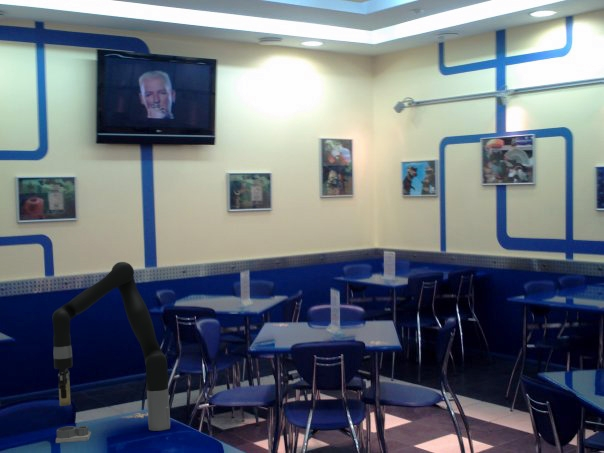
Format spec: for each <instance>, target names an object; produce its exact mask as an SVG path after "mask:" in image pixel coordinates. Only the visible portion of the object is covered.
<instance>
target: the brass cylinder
mask: <svg viewBox="0 0 604 453" xmlns="http://www.w3.org/2000/svg"><path fill="white" fill-rule="evenodd" d="M70 385H71V384H70V379H69V380H68V383H67V384H66V387H67V388H66V392H67V398H64V399H62V398H61V390H60V389H59V388H58V398H59V406H60V407H64V406H66V407H67V406H71V404H72V403H71V402H72V401H71V386H70ZM62 386H64V384H62Z"/></svg>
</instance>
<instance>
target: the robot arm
mask: <svg viewBox="0 0 604 453" xmlns="http://www.w3.org/2000/svg"><path fill="white" fill-rule="evenodd" d="M134 273H135V270H134V267H133V266H132V264H130V263H128V262H125V261H120V262H116V263H115V264H114V265H113V266H112V269H111V270H110V271H109V272H108V273H107V274H106V275H105V276H104V277H103V278H102V279H100V280H99V281H98V282H96V283H94V284H92V285H91V286H89V287H87V288H86V289H84V290H83V291H82V292H80V293H79V294H78V295H75V297H74V298H72V299H71V300H70V301H69V302H66V303H65V304H63V305H62V306H60V307H59V308H57V309H56V310H55V311H54V312H53V313H52V317H51V318H52V328H53V350H52V352H53V368H54V369H55V370H59V372H58V374H57V380H58V390H59V389H60V390H61V398H62V399H64V398H67V392H66V388H67V387H66V384H67V383H68V380H69V381H70V370H69V369H70V368H72V367H73V364H74V363H73V349H72V340H71V339H72V336H71V320H72V319H73V318H75V317H76V316H77V315H80V314H82V313H84V312H85V311H86V310H88V309H89V308H90V307H91V306H93V305H94V304H96V303H97V302H98V301H99V300H101V299H102V298H103V297H104V296H105V295H107V294H108V293H110V292H112V291H113V290H114V289H116V288H117V289H118V291H119V293H120V295H121V298H122V303H123V306H124V310H125V313H126V316H127V320H128V322H129V324H130V327H131V330H132V332H133V334H134V336H135V337H136V339H137V341H138V343H139V344H140V348H141V350H142V354H143V359H144V364H145V375H146V376H145V378H146V399H147V403H146V404H147V420H148V422H147V423H148V430H149V431H153V432H155V431H158V432H161V431H166V430H170V429H171V415H170V414H171V413H170V411H171V410H170V399H169V398H170V397H169V396H170V395H169V374H168V373H169V370H168V360H167V357H166V355H165V354H164V352H163V351H162V349H161V346H160V344H159V342H158V340H157V336H156V333H155V327H154V323H153V320H152V318H151V314H150V311H149V309H148V307H147V304H146V303H145V301H144V299H143V297H142V296H141V294H140V292H139V290H138V288H137V285H136V281H135V277H134V276H135V274H134ZM62 384H64V386H62Z"/></svg>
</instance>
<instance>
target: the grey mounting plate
mask: <svg viewBox="0 0 604 453" xmlns="http://www.w3.org/2000/svg"><path fill="white" fill-rule="evenodd" d="M91 435H92V431H89V426H88V425H81V426H77V427H76V426H75V425H74V426H73V425H70V426H63V427H62V426H61V427H58V428H57V429H56V438H55V444H61V443H72V442H74V443H75V442H84V441H85V442H86V441H89V440H90V437H91Z"/></svg>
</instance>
